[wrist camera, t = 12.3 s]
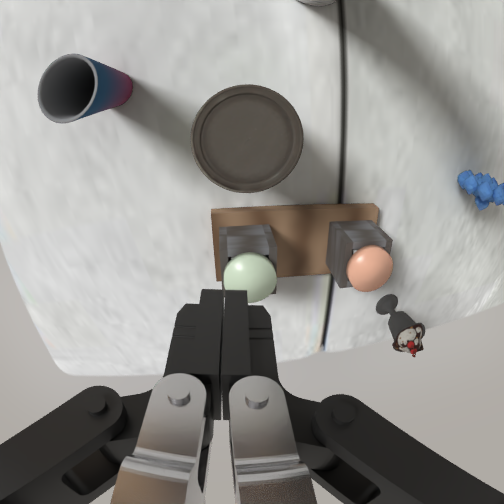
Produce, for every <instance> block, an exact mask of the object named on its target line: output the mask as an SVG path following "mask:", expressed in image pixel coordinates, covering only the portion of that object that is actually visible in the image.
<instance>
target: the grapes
mask: <svg viewBox="0 0 504 504" xmlns="http://www.w3.org/2000/svg"><path fill="white" fill-rule="evenodd" d="M458 183H459V184H460V186H461V188H462V189H466V191H467V193H468V194H473V195H475V197H476V198H475V203H476V205H477V207H478V209H479V210H483V209H485V208H487V207H488V205H489V202H495V204H496V205H500V204H503V205H504V183H502V184H500V185H498V183H497V181H496V180H495V178H491V177H490V175H489V174H485V175H482V173H478V174H477V175H475V176H474V175H473V173H472V172H471V170H469V171H464V172H462V173H461V174H459V176H458Z"/></svg>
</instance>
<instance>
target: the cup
mask: <svg viewBox="0 0 504 504" xmlns="http://www.w3.org/2000/svg"><path fill="white" fill-rule="evenodd" d="M132 89H133V85H132V81H131V79H130V77H129V76H128V75H127V74H125V73H123V72H120V71H118V70H116V69H114V68H111V67H109V66H107V65H104V64H102V63H100V62H97V61H95V60H92V59H90V58H87V57H85V56H82V55H80V54H67V55H64V56H62V57H60V58H58V59H56V60H55V61H54V62H52V63H51V64H50V65H49V67H48V68H47V69H46V70H45V72H44V73H43V75H42V77H41V80H40V83H39V87H38V102H39V106H40V108H41V110H42V112H43V114H44V115H45V116H46V117H47V118H48V119H50V120H51V121H53V122H56V123H69V122H73V121H75V120H78V119H81V118H84V117H86V116H89V115H92V114H95V113H98V112H101V111H104V110H107V109H110V108H113V107H117V106H120V105H122V104H123V103H125V102H126V101H127V100H128V99H129V97H130V96H131V93H132Z"/></svg>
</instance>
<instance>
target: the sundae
mask: <svg viewBox="0 0 504 504" xmlns="http://www.w3.org/2000/svg"><path fill="white" fill-rule="evenodd" d="M397 303H398V298H397V296H395V295H392V294H390V295H386V296H384V297H383V298H381V299H380V300H379V302H378V303H377V306H376V311H377V313H379V314H381V315H385V314H388V313H389V314H390V315H391V316H390V319H389V322H388V325H389V328H390V331H391V333H392V336H393V339H394V343H393V348H394V349H395V350H396V351H400V352H405V351H406V352H407V353H411V354H413V355H412V356H413V357H415V355H416V352H418V351H421V350H423V345H422V342H421V339H422V338H423V336H424V334H425V327H424V325H423V324H422V323H416V322H414V321H413V320H412V319H411V318H410V317H409V316H408V315H407V314H406V313H405V312H403V311H399V312H395V310H394V309H395V308H396V306H397ZM414 354H415V355H414Z"/></svg>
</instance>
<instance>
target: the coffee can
mask: <svg viewBox="0 0 504 504" xmlns="http://www.w3.org/2000/svg"><path fill="white" fill-rule="evenodd" d="M302 147H303V128H302V124H301V121H300V119H299V116H298V114H297V112H296V111H295V109H294V108H293V106H292V105H291V104H290V103H289V102H288V101H287V100H286V99H285V98H284V97H283V96H281V95H280V94H279V93H277V92H275V91H273V90H271V89H269V88H266V87H262V86H258V85H237V86H233V87H229V88H227V89H224V90H222V91H220V92H218V93H217V94H215V95H214V96H212V97H211V98H210V99H209V100H207V102H206V103H205V104H204V105H203V106H202V107H201V109H200V110H199V112H198V113H197V115H196V117H195V120H194V122H193V126H192V130H191V148H192V153H193V156H194V159H195V161H196V163H197V165H198V167H199V168H200V170H201V171H202V172H203V174H204V175H205V176H206V177H207V178H208V179H209V180H211V181H212V182H213V183H215V184H216V185H218V186H220V187H222V188H224V189H227V190H230V191H233V192H239V193H254V192H259V191H263V190H266V189H269V188H271V187H273V186H275V185H276V184H278V183H280V182H281V181H282V180H284V179H285V178H286V177H287V176H288V175H289V174H290V173H291V171H292V170H293V169H294V167H295V166H296V164H297V163H298V160H299V158H300V155H301V152H302Z"/></svg>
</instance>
